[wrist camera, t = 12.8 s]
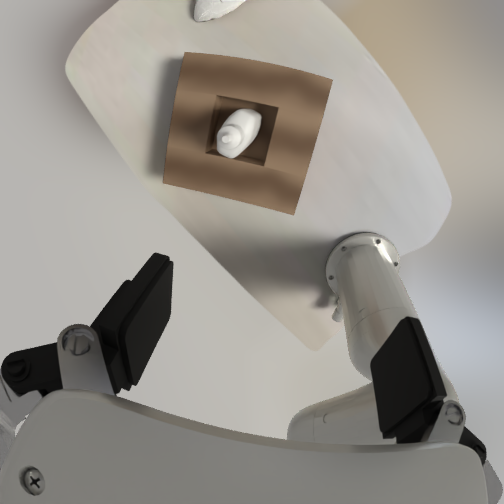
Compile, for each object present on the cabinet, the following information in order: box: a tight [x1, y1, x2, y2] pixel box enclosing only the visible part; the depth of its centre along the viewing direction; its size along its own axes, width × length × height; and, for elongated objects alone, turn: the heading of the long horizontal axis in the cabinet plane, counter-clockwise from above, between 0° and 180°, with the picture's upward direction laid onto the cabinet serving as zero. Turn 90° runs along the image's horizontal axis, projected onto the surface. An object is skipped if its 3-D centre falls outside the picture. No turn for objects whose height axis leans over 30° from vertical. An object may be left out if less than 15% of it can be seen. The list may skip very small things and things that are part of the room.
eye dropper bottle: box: [217, 109, 262, 159], centre depth 29 cm, size 4×6×12 cm
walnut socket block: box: [163, 52, 333, 215], centre depth 33 cm, size 18×18×4 cm
